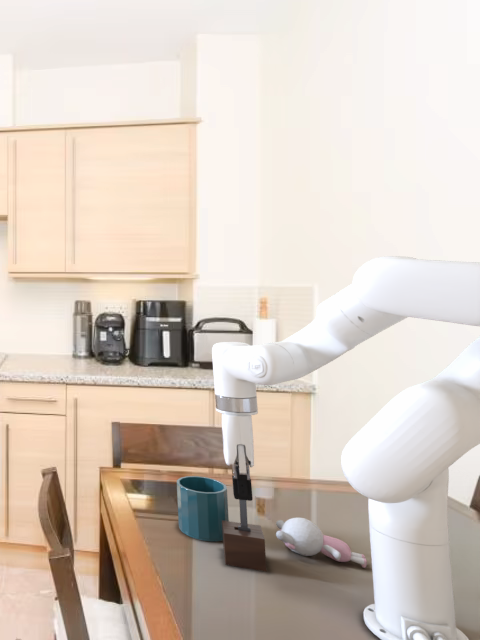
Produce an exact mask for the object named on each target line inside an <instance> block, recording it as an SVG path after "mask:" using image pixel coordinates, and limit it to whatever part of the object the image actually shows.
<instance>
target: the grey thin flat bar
mask: <svg viewBox="0 0 480 640" xmlns="http://www.w3.org/2000/svg"><path fill="white" fill-rule="evenodd" d="M238 500H239V499H238ZM247 506H248V505H247V500H239V520H240V522H239V523H241V526H238V530H241V531H248V532H251V531H250V527H248V524H249V523H248V507H247Z"/></svg>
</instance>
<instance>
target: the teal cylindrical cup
mask: <svg viewBox="0 0 480 640" xmlns="http://www.w3.org/2000/svg"><path fill="white" fill-rule="evenodd" d="M176 495H177V517H178V518H177V519H178V520H177V521H178V528H179V530H180V531H181V533H183V534H184V535H186V536H188V537H190V538H192V539H196V540H199V541H203V542H221V541H222V542H223V531H222V520H223V521H229V520H230V519H229V502H228V487H227V485H226V484H224V483H223V481H220V480H217V479H215V478H211V477H207V476H199V475H187V476H182V477H179V478H178V479H177V480H176Z"/></svg>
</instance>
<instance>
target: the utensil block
mask: <svg viewBox="0 0 480 640" xmlns="http://www.w3.org/2000/svg"><path fill="white" fill-rule="evenodd" d="M238 526H241V522H238V521H237V522H236V521H223V520H222V531H223V540H222V547H223V557H224V564H225V565H227V566H231V567H237V568H243V569H247V570H248V569H249V570H253V571H260V572H267V570H268V569H267V556H266V554H267V553H266V541H265V535H264V533H263V529H262V526H261V525H259V524H258V525H257V524H250V523H248V527H250V531H251V532H248V531H241V530H238Z"/></svg>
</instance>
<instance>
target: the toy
mask: <svg viewBox="0 0 480 640" xmlns="http://www.w3.org/2000/svg"><path fill="white" fill-rule="evenodd" d="M275 525H276V527H277V529H278V530H276V533H275V536H276V539H278V540H280V541H281V542H282V543H284V545H285V547H286V548H288V549H289V550H290V551H292V552H293V553H295V554H297V555H299V556H304V557H310V556H311V557H312V556H315V555H317V554H318V553H321V554H323V555H325V556H326V557H328V558H330V559H332V560H333V561H336V562H338V563H348V562H349V561H351V562H354V563H356V564H359V565H360V566H361V567H362V568H363V569H366V568H367V565H368V560H367V558H366V556H365V554H363V553H358V552H354V551H352V549H351V547H350V545H348V544H347V542H345V541H343V540H342V539H339V538H336V537H334V536H331V535H326V534H323V531H322V530H321V528H320V527H319V526H318V525H317V524H316V523H314V522H313V521H312V520H309V519H307V518H304V517H292V518H289V519H287V520H286V521H284V520H282V519H278V520H277V521H276V523H275Z"/></svg>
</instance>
